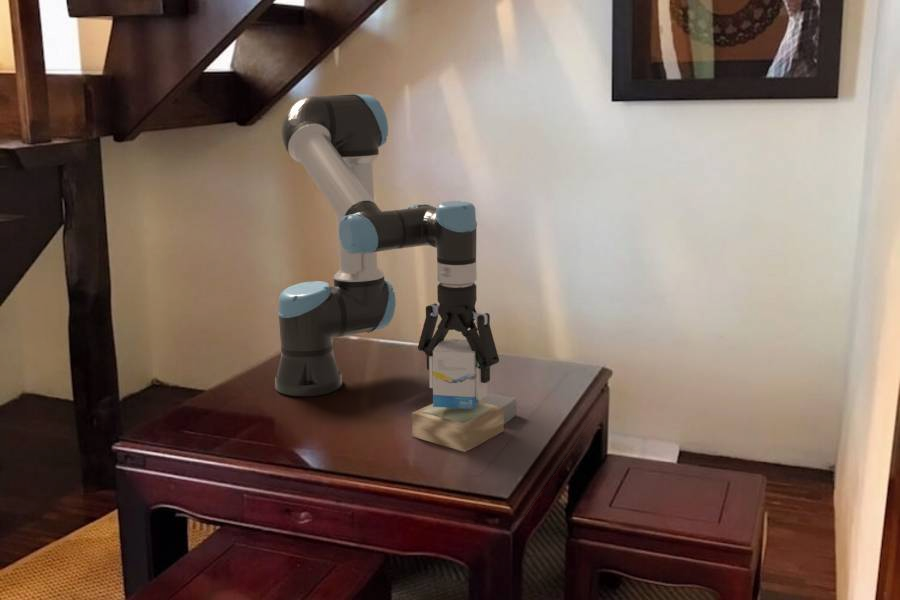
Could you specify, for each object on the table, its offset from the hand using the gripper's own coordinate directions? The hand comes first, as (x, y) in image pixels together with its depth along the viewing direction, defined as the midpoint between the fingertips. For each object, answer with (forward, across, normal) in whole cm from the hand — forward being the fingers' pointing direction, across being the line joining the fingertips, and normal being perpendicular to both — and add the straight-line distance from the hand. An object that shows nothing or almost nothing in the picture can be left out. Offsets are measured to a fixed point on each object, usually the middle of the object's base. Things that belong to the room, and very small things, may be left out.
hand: (457, 391), depth 196 cm
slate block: (+9, +1, +12) cm, 15 cm away
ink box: (+2, 0, 0) cm, 2 cm away
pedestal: (+9, 0, 0) cm, 9 cm away
